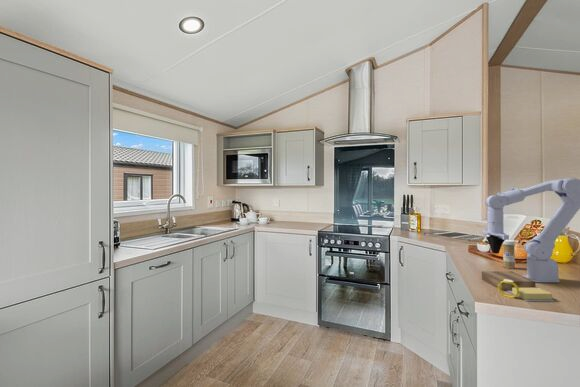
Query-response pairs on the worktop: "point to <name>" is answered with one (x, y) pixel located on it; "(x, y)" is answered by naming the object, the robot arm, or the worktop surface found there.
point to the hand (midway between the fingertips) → (495, 253)
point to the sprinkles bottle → (509, 254)
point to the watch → (509, 283)
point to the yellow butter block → (532, 293)
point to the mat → (534, 299)
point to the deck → (499, 276)
